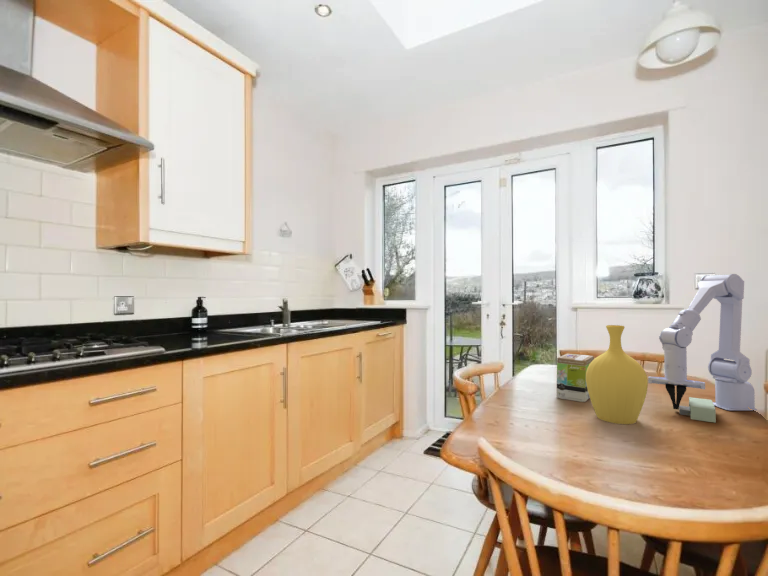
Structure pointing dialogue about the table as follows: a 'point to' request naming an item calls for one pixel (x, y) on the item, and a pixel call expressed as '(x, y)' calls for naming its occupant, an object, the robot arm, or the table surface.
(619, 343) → the vase
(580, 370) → the tea box
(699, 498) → the table surface
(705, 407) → the pale green block
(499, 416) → the table surface
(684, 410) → the gray block
